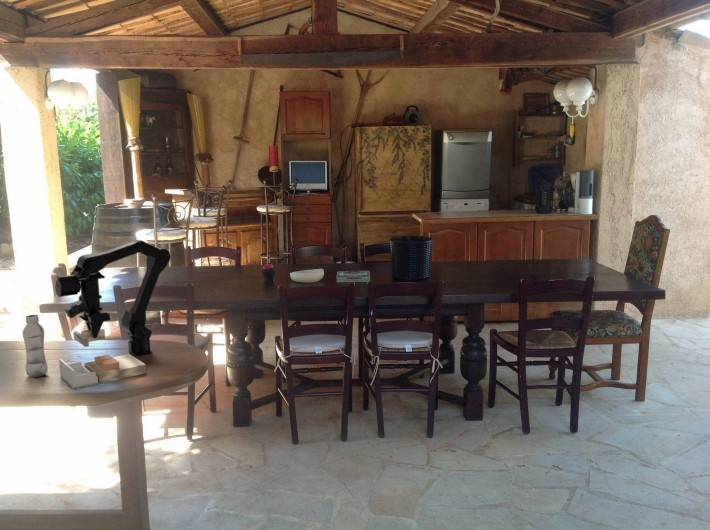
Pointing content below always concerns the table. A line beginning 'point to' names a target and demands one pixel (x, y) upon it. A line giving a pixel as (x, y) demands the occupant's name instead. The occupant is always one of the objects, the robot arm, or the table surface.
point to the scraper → (88, 336)
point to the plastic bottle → (34, 347)
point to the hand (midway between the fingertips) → (93, 337)
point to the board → (118, 369)
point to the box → (77, 374)
